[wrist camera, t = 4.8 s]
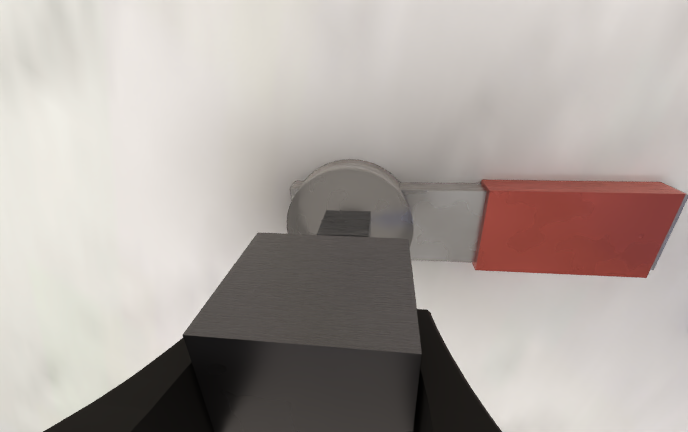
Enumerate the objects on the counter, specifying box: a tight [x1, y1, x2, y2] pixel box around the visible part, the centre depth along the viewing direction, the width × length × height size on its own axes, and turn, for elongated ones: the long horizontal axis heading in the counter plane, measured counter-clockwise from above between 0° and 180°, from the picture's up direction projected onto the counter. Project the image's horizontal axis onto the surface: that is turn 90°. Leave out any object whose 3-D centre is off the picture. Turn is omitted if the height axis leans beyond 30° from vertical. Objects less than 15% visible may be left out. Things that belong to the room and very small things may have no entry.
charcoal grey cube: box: [183, 233, 422, 432], centre depth 10 cm, size 5×5×4 cm
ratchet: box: [287, 159, 688, 278], centre depth 15 cm, size 18×6×4 cm, turn 92°
